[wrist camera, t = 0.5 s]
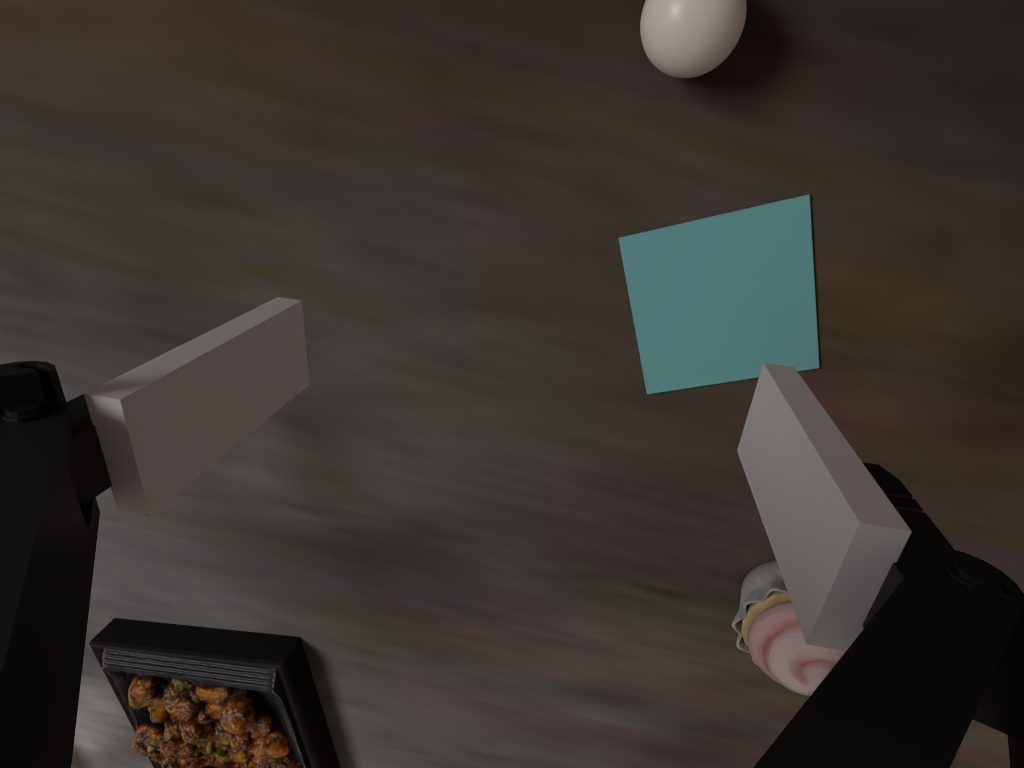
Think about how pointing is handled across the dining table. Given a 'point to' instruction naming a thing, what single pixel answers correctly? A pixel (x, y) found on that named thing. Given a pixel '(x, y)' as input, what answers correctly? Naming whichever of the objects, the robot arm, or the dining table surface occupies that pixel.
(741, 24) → the ball
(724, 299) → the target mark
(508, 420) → the dining table surface
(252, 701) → the food platter
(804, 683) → the cupcake
